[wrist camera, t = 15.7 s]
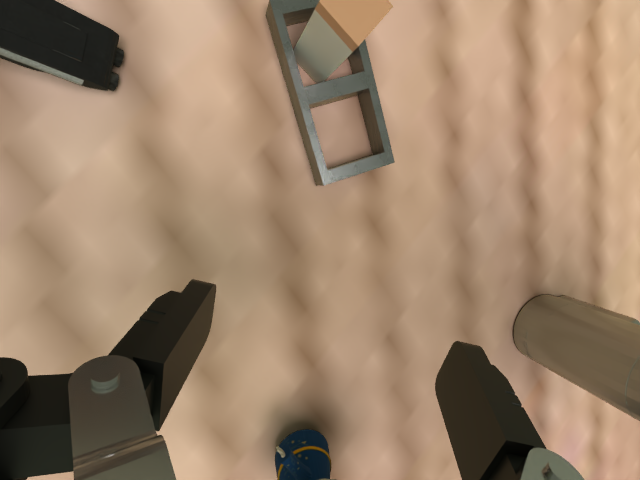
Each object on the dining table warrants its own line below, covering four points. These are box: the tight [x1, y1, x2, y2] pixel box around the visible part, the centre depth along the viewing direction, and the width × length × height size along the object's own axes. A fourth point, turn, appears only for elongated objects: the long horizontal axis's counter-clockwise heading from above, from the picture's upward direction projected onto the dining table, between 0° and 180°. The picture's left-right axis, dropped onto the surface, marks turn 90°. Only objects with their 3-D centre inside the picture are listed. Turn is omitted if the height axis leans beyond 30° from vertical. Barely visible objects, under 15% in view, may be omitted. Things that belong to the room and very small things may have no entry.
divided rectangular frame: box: [266, 0, 394, 186], centre depth 36 cm, size 8×17×3 cm, turn 17°
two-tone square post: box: [293, 0, 393, 84], centre depth 31 cm, size 4×4×11 cm
